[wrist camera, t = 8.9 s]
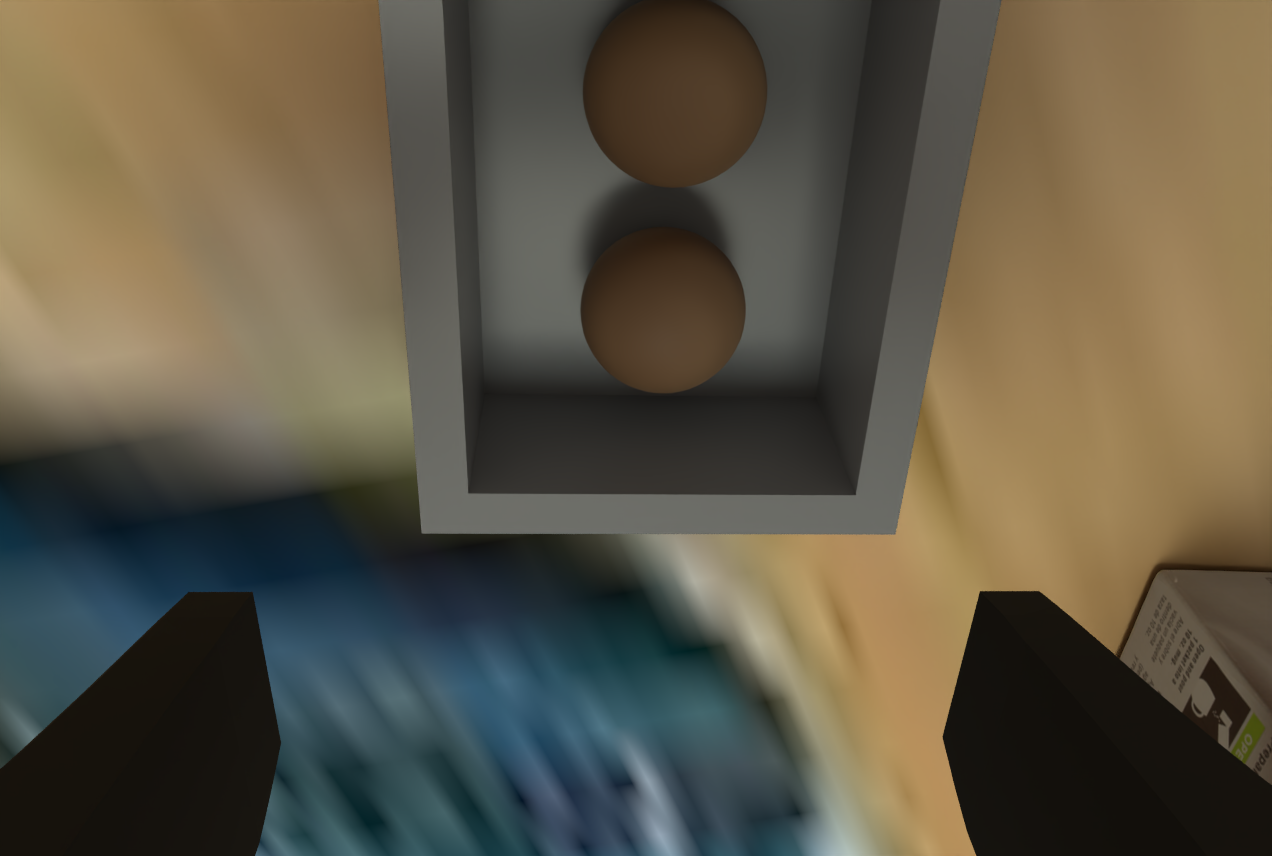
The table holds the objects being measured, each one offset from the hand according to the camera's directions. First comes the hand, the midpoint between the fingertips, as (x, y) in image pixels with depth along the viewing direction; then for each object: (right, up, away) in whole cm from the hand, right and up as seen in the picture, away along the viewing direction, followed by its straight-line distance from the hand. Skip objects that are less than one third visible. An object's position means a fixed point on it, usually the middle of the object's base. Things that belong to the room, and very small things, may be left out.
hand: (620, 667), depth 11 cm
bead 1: (+1, +8, +7) cm, 11 cm away
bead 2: (0, +5, +9) cm, 10 cm away
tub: (+1, +7, +8) cm, 11 cm away
